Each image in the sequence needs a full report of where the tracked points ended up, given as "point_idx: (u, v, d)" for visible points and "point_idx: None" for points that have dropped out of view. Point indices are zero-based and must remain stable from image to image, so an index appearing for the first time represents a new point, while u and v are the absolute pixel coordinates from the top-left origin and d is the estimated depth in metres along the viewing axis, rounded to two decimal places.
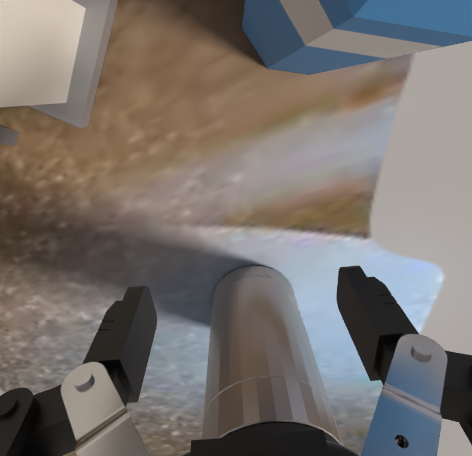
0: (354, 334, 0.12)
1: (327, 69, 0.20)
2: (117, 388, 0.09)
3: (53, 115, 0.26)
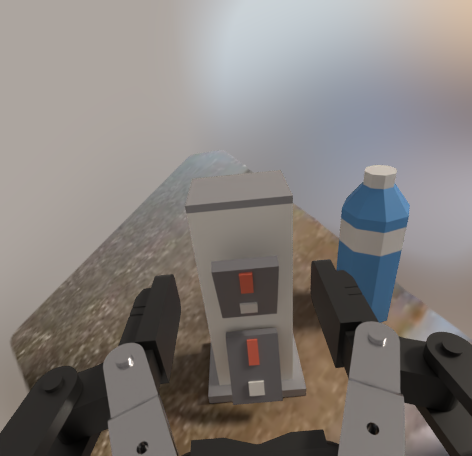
0: (323, 324, 0.12)
1: (391, 292, 0.48)
2: (153, 368, 0.10)
3: (289, 389, 0.41)
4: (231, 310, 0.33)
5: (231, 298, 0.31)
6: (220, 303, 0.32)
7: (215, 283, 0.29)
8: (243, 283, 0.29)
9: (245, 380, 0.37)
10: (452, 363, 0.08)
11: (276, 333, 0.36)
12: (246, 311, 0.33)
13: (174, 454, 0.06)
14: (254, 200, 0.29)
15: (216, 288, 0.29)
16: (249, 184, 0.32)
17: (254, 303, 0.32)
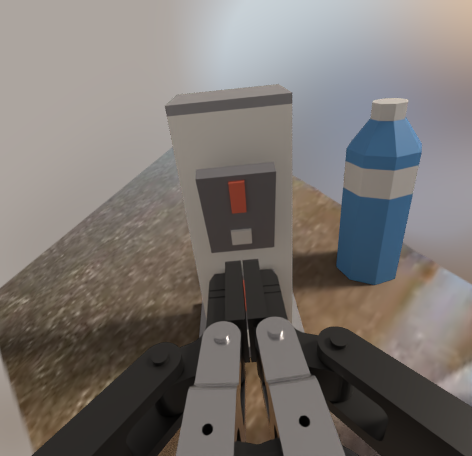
0: None
1: (400, 244, 0.44)
2: (242, 346, 0.10)
3: None
4: (221, 241, 0.28)
5: (221, 221, 0.26)
6: (208, 229, 0.27)
7: (201, 197, 0.24)
8: (234, 196, 0.24)
9: None
10: (344, 356, 0.09)
11: None
12: (238, 241, 0.28)
13: (231, 453, 0.06)
14: (247, 99, 0.24)
15: (202, 205, 0.25)
16: (241, 92, 0.27)
17: (247, 230, 0.27)
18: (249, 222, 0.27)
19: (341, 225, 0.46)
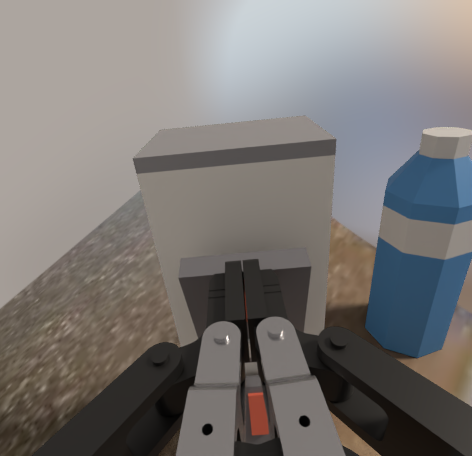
0: None
1: (452, 310, 0.34)
2: (242, 346, 0.10)
3: None
4: None
5: None
6: None
7: (188, 301, 0.15)
8: None
9: None
10: (344, 356, 0.09)
11: None
12: None
13: (232, 453, 0.06)
14: (263, 148, 0.15)
15: (191, 311, 0.16)
16: (253, 130, 0.18)
17: None
18: None
19: (374, 281, 0.37)
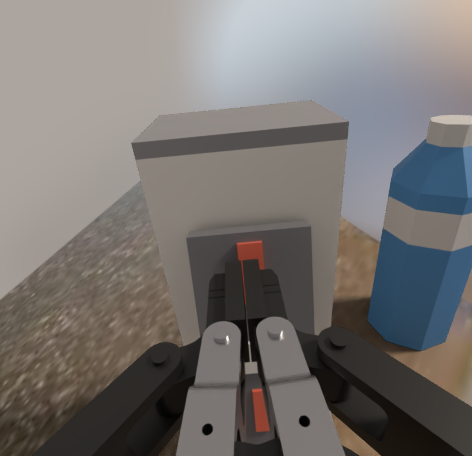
0: None
1: (457, 303, 0.34)
2: (242, 346, 0.10)
3: None
4: None
5: None
6: None
7: (193, 272, 0.15)
8: None
9: None
10: (344, 356, 0.09)
11: None
12: (254, 366, 0.16)
13: (232, 453, 0.06)
14: (271, 132, 0.14)
15: (195, 289, 0.16)
16: (259, 115, 0.17)
17: None
18: None
19: (377, 274, 0.36)
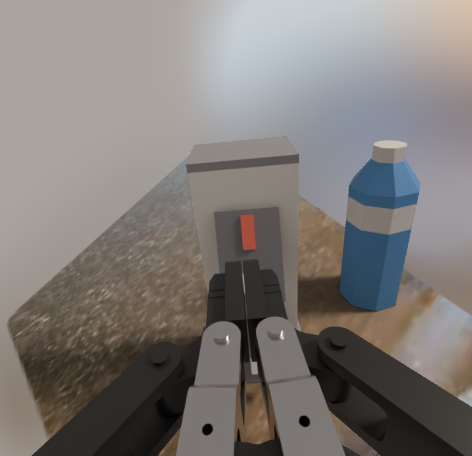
0: None
1: (400, 274, 0.46)
2: (242, 346, 0.10)
3: None
4: None
5: None
6: (221, 272, 0.29)
7: (217, 232, 0.29)
8: (245, 230, 0.28)
9: None
10: (344, 356, 0.09)
11: None
12: None
13: (231, 453, 0.06)
14: (258, 159, 0.27)
15: (217, 241, 0.29)
16: (253, 147, 0.31)
17: None
18: (259, 264, 0.29)
19: (344, 254, 0.49)
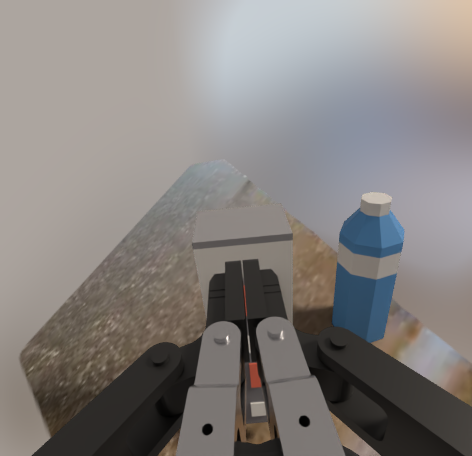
0: None
1: (387, 312, 0.50)
2: (242, 346, 0.10)
3: None
4: None
5: None
6: None
7: None
8: (245, 299, 0.32)
9: (247, 402, 0.39)
10: (344, 356, 0.09)
11: None
12: (249, 349, 0.33)
13: (231, 453, 0.06)
14: (256, 237, 0.31)
15: None
16: (251, 219, 0.34)
17: None
18: None
19: (336, 291, 0.53)
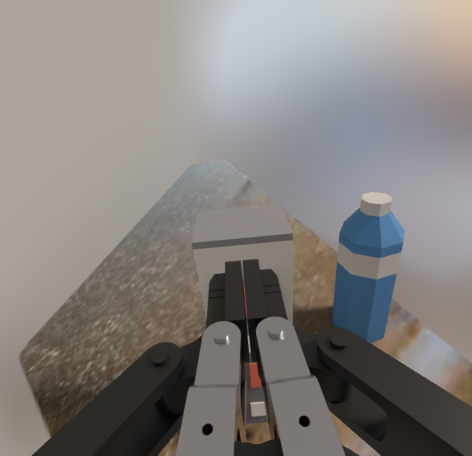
0: None
1: (387, 312, 0.50)
2: (242, 346, 0.10)
3: None
4: None
5: None
6: None
7: None
8: (245, 299, 0.32)
9: (247, 402, 0.39)
10: (344, 356, 0.09)
11: None
12: (249, 349, 0.33)
13: (231, 453, 0.06)
14: (256, 237, 0.31)
15: None
16: (251, 219, 0.34)
17: None
18: None
19: (336, 291, 0.53)
